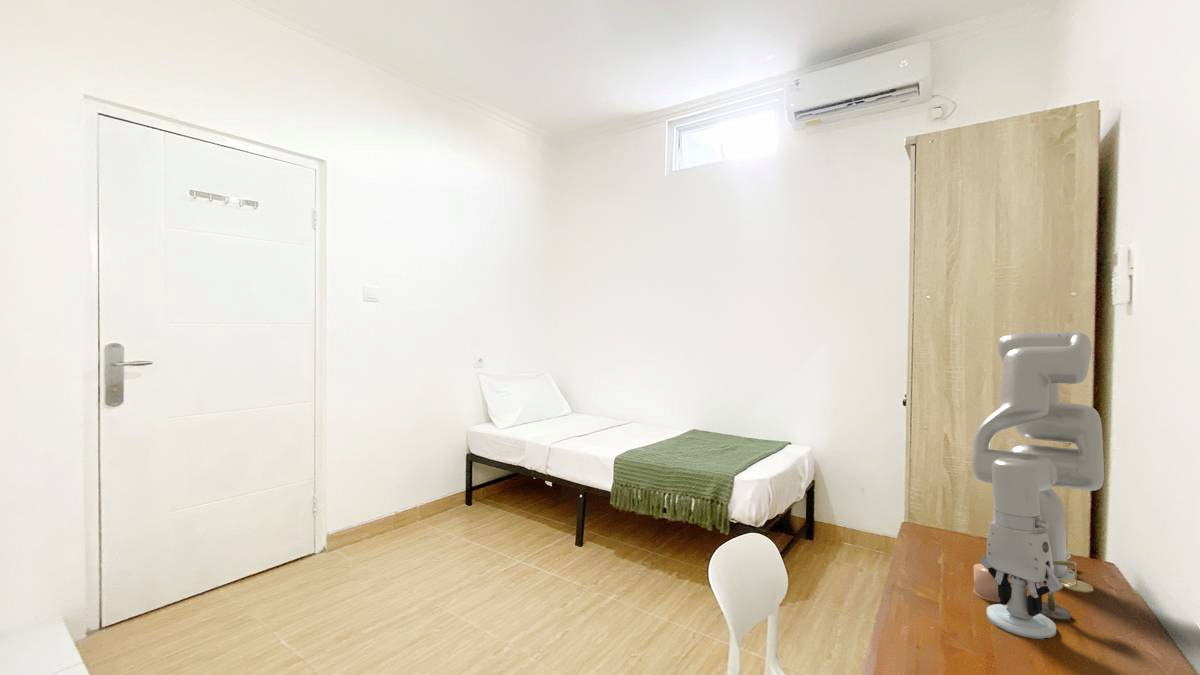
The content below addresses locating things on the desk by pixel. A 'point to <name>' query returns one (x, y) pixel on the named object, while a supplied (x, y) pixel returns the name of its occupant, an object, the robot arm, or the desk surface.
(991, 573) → the robot arm
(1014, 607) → the rook chess piece
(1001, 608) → the dish
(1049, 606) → the balance
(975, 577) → the peach dome knob
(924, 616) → the desk surface
